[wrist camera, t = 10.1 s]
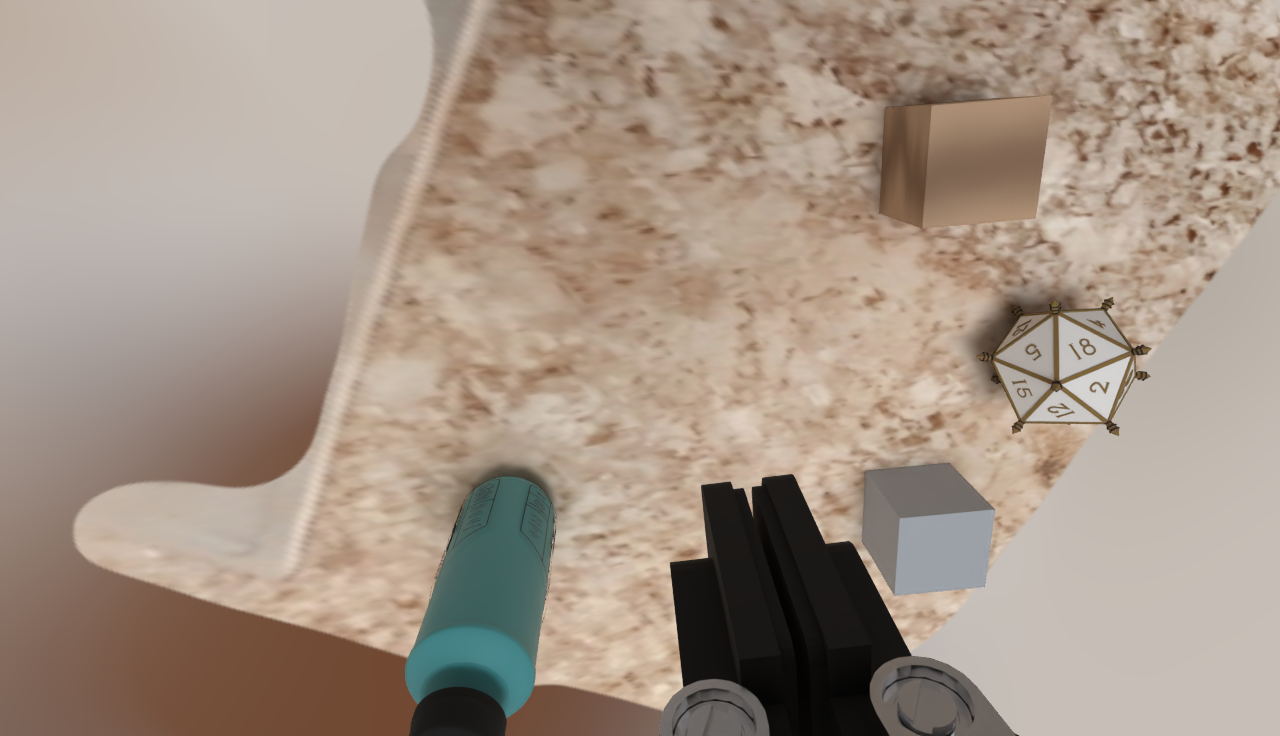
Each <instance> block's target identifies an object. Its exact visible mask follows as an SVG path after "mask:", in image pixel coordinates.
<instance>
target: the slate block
mask: <svg viewBox="0 0 1280 736" xmlns="http://www.w3.org/2000/svg"><path fill="white" fill-rule="evenodd" d="M994 514H995V509H994V508H993V507H992V506H991V505H990V504H989V503H988V502H987V501H986V500H985V499H984V498H983V497H982V496H981V495H980V494H979V493H978V492H977V491H976V490H975V489H974V487H973V486H972V485H971V484H970V483H969V482H968V481H967V480H966V479H965V478H964V477H963V476H962V475H961V474H960V473H959V472H958V471H957V470H956V469H955V468H954V467H953V466H952V465H951V464H950V463H943V464H932V465H922V466H911V467H900V468H890V469H879V470H869V471H865V490H864V512H863V533H862V542H863V544H864V545H865V547H866V549H867V550H868V552H869V554H870V555H871V557H872V559H873V560H874V562H875V564H876V565H877V567H878V569H879V570H880V572H881V574H882V576H883V577H884V579H885V581H886V582H887V584H888V586H889V587H890V589H891V591H892V592H893V594H894V596H897V595H907V594H918V593H928V592H938V591H949V590H959V589H970V588H980V587H985V582H986V575H987V567H988V560H989V552H990V544H991V537H992V529H993V521H994Z"/></svg>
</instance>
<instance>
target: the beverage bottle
mask: <svg viewBox="0 0 1280 736" xmlns="http://www.w3.org/2000/svg"><path fill="white" fill-rule="evenodd" d="M472 491H473V492H472V493H471V494H470V495H469V497H468V498H467V500H466V502H465V503H464V502H463V503H464V504H463V505H464V507H463V506H462V507H463V510H462V507H461V508H460V512H461V510H462V512H461V515H460V512H459V514H458V517H457V520H456V523H457V521H458V523H457V526H456V523H455V524H454V528H453V531H452V532H453V533H451V534H452V536H451V535H450V536H451V539H450V542H449V544H448V545H447V546H448V547H447V550H446V556H445V555H444V554H445V553H444V554H443V557H444V556H445V557H444V558H445V559H444V560H443V564H442V567H439V568H441V569H439V568H438V570H440V571H439V575H438V578H437V577H435V579H437V581H436V583H435V586H434V590H433V593H432V597H431V599H429V605H428V608H427V611H426V614H425V616H424V619H423V622H422V625H421V628H420V631H419V633H418V636H417V639H416V642H415V645H414V647H413V649H412V650H411V652H410V654H409V657H408V659H407V663H406V668H405V679H406V683H407V687H408V689H409V692H410V693H411V695H412V697H413V699H414V700H415V701H416V702H417V704H418V705H417V707H416V709H415V712H414V715H413V718H412V722H411V727H410V734H409V736H505V730H506V724H507V722H506V718H507V717H509V716H510V715H512V714H513V713H515V712H516V711H517V710H519V709H520V708H521V707H522V706H523V704H524V703H525V702H526V701H527V699H528V698H529V696H530V695H531V693H532V690H533V688H534V683H535V675H536V669H535V665H536V658H537V651H538V643H539V636H540V629H541V621H542V614H543V610H544V604H545V600H546V599H545V596H546V594H547V593H546V592H547V591H546V588H547V586H548V585H547V582H548V580H549V579H548V573H549V571H550V570H549V565H550V557H551V549H552V545H553V544H552V539H553V537H554V534H555V533H556V528H555V533H554V522H555V519H556V518H557V517H556V518H555V514H554V510H553V507H554V506H552V505H553V504H551V503H552V502H551V501H550V499H549V498H548V496H547V495H546V494H545V493H544V491H543V490H542V489H541V488H539V487H538V486H537V485H535V484H534V483H532V482H530V481H528V480H525V479H522V478H518V477H511V476H504V477H498V478H494V479H491V480H488V481H486V482H484V483H483V484H481V485H479V487H476V489H475V490H474V489H473V490H472ZM467 496H468V495H467ZM467 496H466V497H467ZM464 500H465V499H464ZM555 513H556V512H555ZM459 515H460V518H459ZM458 518H459V520H458ZM555 527H556V525H555ZM448 541H449V540H448ZM554 542H555V537H554ZM553 551H554V545H553ZM553 551H552V552H553ZM444 552H445V551H444ZM443 557H442V558H443ZM441 561H442V560H441ZM551 563H552V562H551ZM439 565H441V564H439ZM438 570H437V571H438ZM550 575H551V574H550ZM548 584H549V583H548ZM549 587H550V585H549V586H548V589H549ZM431 588H432V587H431ZM430 593H431V592H430ZM547 595H548V594H547ZM546 598H547V597H546ZM546 609H547V608H546ZM545 613H546V612H545ZM543 619H544V618H543ZM542 622H543V621H542Z"/></svg>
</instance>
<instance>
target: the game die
mask: <svg viewBox="0 0 1280 736" xmlns="http://www.w3.org/2000/svg"><path fill="white" fill-rule="evenodd" d="M1060 305H1061V303H1058V302H1057V301H1055V300H1054V301H1053V302H1052V303H1051V304H1049V306H1050V310H1051V311H1049V312H1039V313H1029V314H1023V313H1022V312H1023V311H1022V309H1021V308H1020V306H1019V307H1017V306H1014V305H1013V311H1012V313H1014V315H1016V316H1018V319H1017V321H1016V322H1015V323H1014V325H1013V326H1012V328H1011V329H1010V330H1009V332H1008V333H1007V335H1006V336H1005V338H1004V339H1003V340H1002V342H1001V343H1000V345H999V346H998V348H997V349H996V350H995V352H994V353H993V355H990V354H988V353H987V354H986V353H984V352H983V353H982V354H980V355H977V356H976V357H978V358H979V359H980V360H981V361H984V360H985V361H989V360H990V361H991V362H992V364H993V366H994V369H995V371H996V373H997V376H993V378H992V380H991V381H993V382H995V383H996V384H998V383H1002V386H1003V388H1004V390H1005V392H1006V394H1007V396H1008V398H1009V400H1010V403H1011V405H1012V407H1013V409H1014V411H1015V413H1016V415H1017V417H1018V422H1016V423H1014V425H1013V426H1012V434H1014V433H1017V432H1019V431H1020V432H1021V429H1022V428H1023V424H1024V423H1045V424H1069V425H1070V424H1106V426H1107V430H1109V432H1110V433H1112V434H1115V435H1117V436H1119V427H1117V426H1116V424H1114V423H1112V422H1111V420H1112V418H1113V416H1114V414H1115V413H1116V411H1117V409H1118V407H1119V405H1120V404H1121V402H1122V400H1123V398H1124V396H1125V395H1126V393H1127V391H1128V389H1129V387H1130V386H1131V384H1132V382H1133V380H1134V378H1137V379H1138V380H1140V379H1141V380H1143V381H1144V380H1145V379H1147V378H1149V377H1150V375H1148V374H1147V372H1141V371H1138V372H1136V359H1135V355H1144V354H1147V353H1148V352H1149V351H1150V350H1151V349H1152V348H1149V347H1146V346H1144V345H1141V346H1137V347H1136V348H1135V349H1134V348H1133V347H1132V346H1131V344H1130V343H1129V342H1128V340H1127V339H1126V337H1125V336H1124V335H1123V333H1122V332H1121V330H1120V329H1119V328H1118V326H1117V325H1116V323H1115V322H1114V321H1113V319H1112V318H1111V316H1110V315H1109V314H1108V312H1107V310H1108V309H1109V308H1112V307H1111V306H1112V305H1114V303H1113V297H1111V298H1109V299H1106V300H1104V303H1102V307H1101V308H1095V309H1078V310H1060V308H1061V307H1060ZM1059 310H1060V311H1059Z"/></svg>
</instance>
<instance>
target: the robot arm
mask: <svg viewBox="0 0 1280 736" xmlns="http://www.w3.org/2000/svg"><path fill="white" fill-rule="evenodd" d="M701 491H702V501H703V511H704V521H705V531H706V541H707V550H708V558H704V559H696V560H687V561H679V562H670V569H671V578H672V587H673V596H674V605H675V615H676V624H677V633H678V642H679V651H680V660H681V669H682V679H683V688H682V689H681V690H680V691H678V692H677V693H676V694H675V695H673V696H672V698H671V699H670V701H669V702H668V704H667V705H666V707H665V708H664V711H663V715H662V718H661V722H660V730H659V736H1019V735H1017V734H1015V733H1014V732H1013V731H1012V730H1011V729H1010V727H1009V726H1008V725H1007V724H1006V722H1005V721H1004V720H1003V719H1002V717H1001V716H1000V715H999V714H998V712H997V711H996V710H995V709H994V707H993V706H992V705H991V704H990V702H989V701H988V700H987V699H986V697H985V696H984V695H983V694H982V692H981V691H980V690H979V689H978V687H977V686H976V685H975V684H974V683H973V682H972V681H971V680H970V679H969V678H967V677H966V676H965V675H964V674H963V673H961V672H960V671H958V670H956V669H955V668H953V667H952V666H950V665H948V664H946V663H943V662H940V661H937V660H934V659H931V658H926V657H918V656H911V653H910V652H909V650H908V648H907V646H906V644H905V642H904V640H903V638H902V636H901V634H900V632H899V630H898V629H897V627H896V625H895V623H894V621H893V619H892V617H891V615H890V613H889V611H888V609H887V607H886V606H885V604H884V602H883V600H882V598H881V596H880V594H879V592H878V590H877V588H876V586H875V584H874V583H873V581H872V579H871V577H870V575H869V573H868V571H867V569H866V567H865V565H864V563H863V562H862V560H861V558H860V556H859V554H858V552H857V550H856V548H855V547H854V545H853V544H852V543H851V542H849V541H846V542H838V543H830V544H825V542H824V540H823V538H822V535H821V533H820V531H819V529H818V527H817V525H816V522H815V520H814V518H813V516H812V514H811V512H810V509H809V507H808V505H807V503H806V501H805V498H804V496H803V494H802V492H801V490H800V488H799V485H798V483H797V481H796V479H795V477H794V475H792V474H789V475H781V476H772V477H764V478H762V486H756V487H752V503H753V516H752V513H751V510H750V506H749V503H748V500H747V497H746V494H745V491H744V489H743V488H740V489H733V487H732V484H731V482H723V483H715V484H707V485H701Z"/></svg>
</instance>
